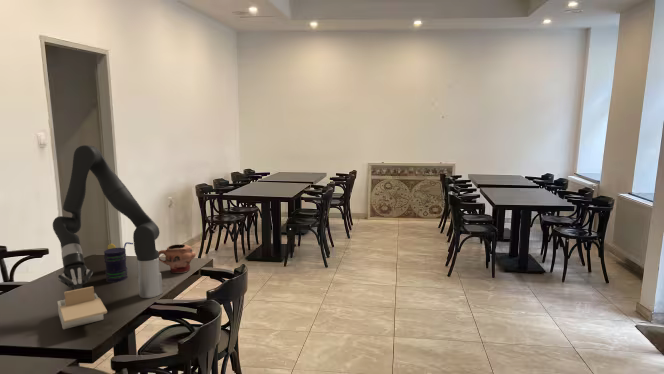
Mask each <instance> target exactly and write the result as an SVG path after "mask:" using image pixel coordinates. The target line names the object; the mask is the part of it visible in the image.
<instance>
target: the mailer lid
mask: <svg viewBox="0 0 664 374" xmlns="http://www.w3.org/2000/svg"><path fill="white" fill-rule="evenodd" d="M94 288H95V287H94V285H93V286H87V287H83V288H81V289H76V290H74V289H72V290H67V291H64V292H63V293H64V300H65V304H66V305H64V306H60V310H61V314H62V317H63V320H64V323H67V322H71V321H75V320H80V319H84V318H88V317H92V316H97V315H101V314H103V315H106V314H107V313H108V310H107V308H106V306H105V305H104V303H103V301H102V299H101V298H100V297H98V298H97V299H95V298H94V293H95V289H94Z"/></svg>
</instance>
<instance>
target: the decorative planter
mask: <svg viewBox="0 0 664 374" xmlns="http://www.w3.org/2000/svg"><path fill="white" fill-rule="evenodd" d="M158 252H159V262H161V263H163V264H165V265H166V266H169V267H170V272H171V273H172V274H183V273H186V272H187V273H188V272H189V271H190V269H191V262H192V261H193V260H194V259H195V258H196V255H197V254H196V252H195V251H193V247H192V246H191V245H188V244H180V243H179V244H171V245H169V246H167V247H166V249H161V250H159V251H158ZM161 254H162V255H164V256H165V260H162V259H161V258H160V256H161Z"/></svg>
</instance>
